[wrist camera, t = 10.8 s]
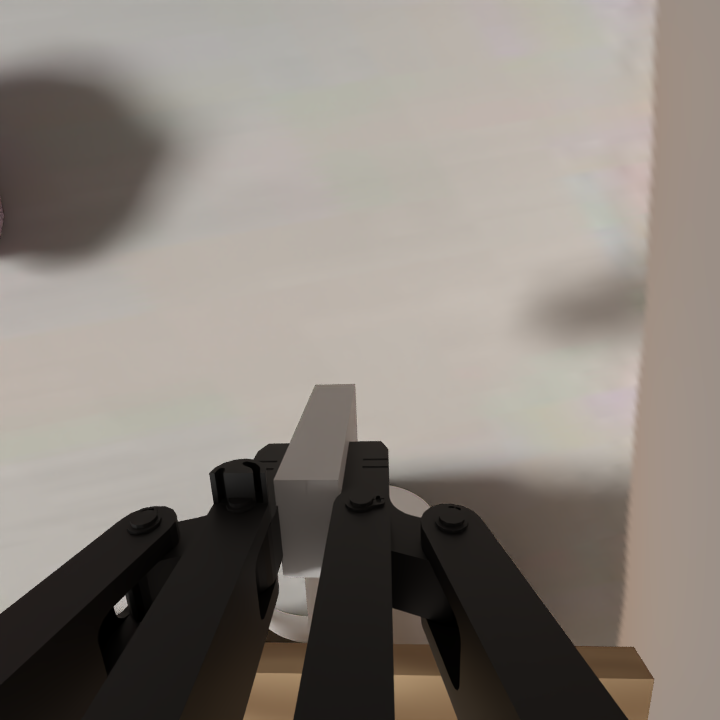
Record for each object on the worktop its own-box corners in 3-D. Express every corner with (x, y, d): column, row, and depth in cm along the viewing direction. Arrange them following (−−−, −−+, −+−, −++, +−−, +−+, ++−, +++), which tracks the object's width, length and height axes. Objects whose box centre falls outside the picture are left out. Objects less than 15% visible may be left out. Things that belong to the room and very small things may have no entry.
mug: (429, 481, 29) (446, 564, 22) (429, 604, 32) (444, 717, 24) (254, 483, 30) (210, 563, 22) (267, 603, 33) (231, 713, 25)
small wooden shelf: (186, 497, 30) (52, 669, 18) (537, 495, 29) (654, 679, 17) (213, 678, 34) (118, 922, 22) (523, 683, 33) (609, 945, 21)
